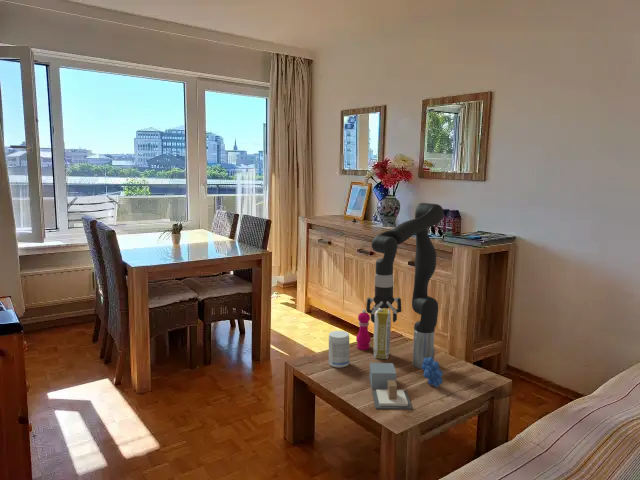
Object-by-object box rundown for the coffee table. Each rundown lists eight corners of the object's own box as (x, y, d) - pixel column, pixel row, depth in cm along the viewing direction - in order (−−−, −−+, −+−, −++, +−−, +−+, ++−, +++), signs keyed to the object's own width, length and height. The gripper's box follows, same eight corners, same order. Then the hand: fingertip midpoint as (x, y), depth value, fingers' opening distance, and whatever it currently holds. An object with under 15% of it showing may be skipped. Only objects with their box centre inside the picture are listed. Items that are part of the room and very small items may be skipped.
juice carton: (373, 351, 233) (374, 305, 229) (389, 352, 232) (391, 306, 228) (372, 359, 224) (374, 311, 220) (389, 360, 223) (391, 311, 219)
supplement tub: (353, 364, 218) (354, 334, 216) (339, 370, 212) (339, 339, 209) (338, 358, 225) (338, 328, 223) (324, 363, 219) (324, 333, 216)
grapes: (414, 381, 202) (415, 355, 200) (425, 378, 205) (427, 352, 203) (433, 393, 192) (435, 365, 190) (445, 389, 195) (447, 362, 193)
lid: (403, 392, 191) (403, 377, 190) (408, 405, 180) (408, 390, 179) (376, 391, 191) (376, 376, 190) (379, 405, 180) (380, 389, 179)
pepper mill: (371, 346, 240) (372, 308, 237) (368, 351, 234) (369, 312, 230) (358, 344, 243) (359, 306, 239) (354, 349, 236) (355, 311, 233)
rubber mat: (406, 391, 193) (406, 390, 192) (412, 409, 179) (412, 408, 179) (372, 391, 193) (372, 389, 193) (375, 408, 179) (375, 407, 179)
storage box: (392, 378, 204) (392, 363, 203) (395, 389, 195) (396, 373, 193) (369, 378, 205) (369, 362, 203) (371, 388, 195) (372, 373, 194)
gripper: (399, 281, 196) (399, 318, 198) (365, 282, 195) (365, 319, 198) (403, 286, 188) (402, 324, 191) (367, 287, 188) (367, 325, 191)
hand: (383, 321), depth 195 cm, fingers open, 8 cm apart
